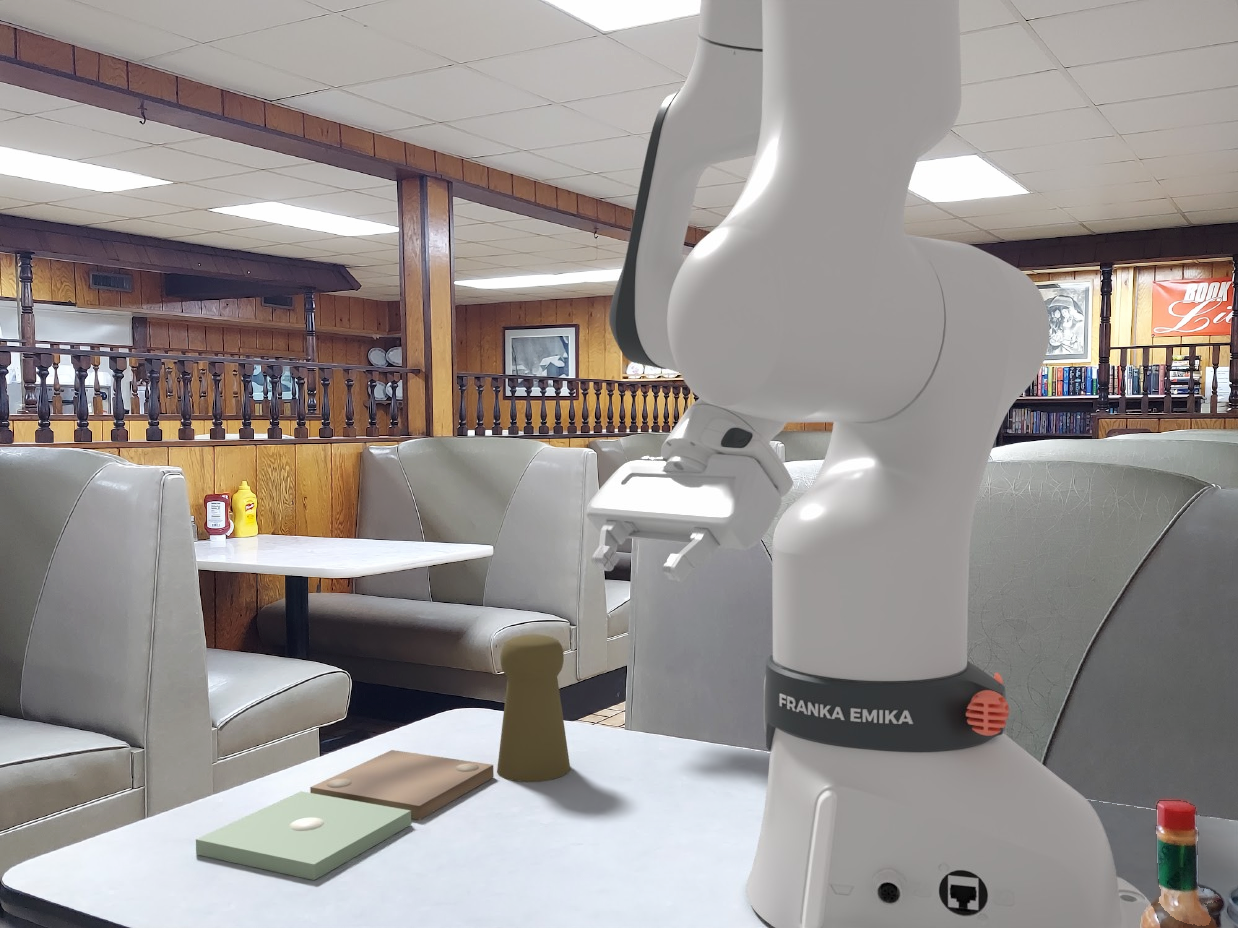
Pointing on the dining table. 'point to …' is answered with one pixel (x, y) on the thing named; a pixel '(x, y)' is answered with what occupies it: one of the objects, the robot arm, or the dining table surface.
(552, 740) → the cork
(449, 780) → the tile two
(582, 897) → the dining table surface
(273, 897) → the dining table surface
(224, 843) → the tile one
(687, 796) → the dining table surface
